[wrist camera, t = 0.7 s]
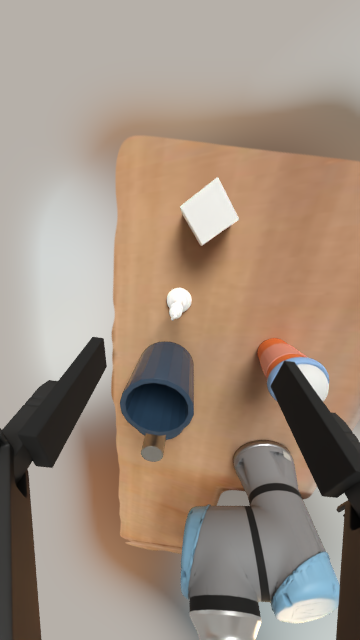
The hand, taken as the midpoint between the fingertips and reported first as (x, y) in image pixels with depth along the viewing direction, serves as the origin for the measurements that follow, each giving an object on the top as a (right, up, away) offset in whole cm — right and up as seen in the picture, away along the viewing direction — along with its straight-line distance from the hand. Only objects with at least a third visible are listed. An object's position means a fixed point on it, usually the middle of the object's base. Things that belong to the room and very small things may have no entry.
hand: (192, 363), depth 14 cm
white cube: (+4, +20, +18) cm, 27 cm away
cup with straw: (+19, -3, +25) cm, 32 cm away
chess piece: (-1, +7, +23) cm, 24 cm away
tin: (-4, -7, +28) cm, 30 cm away
